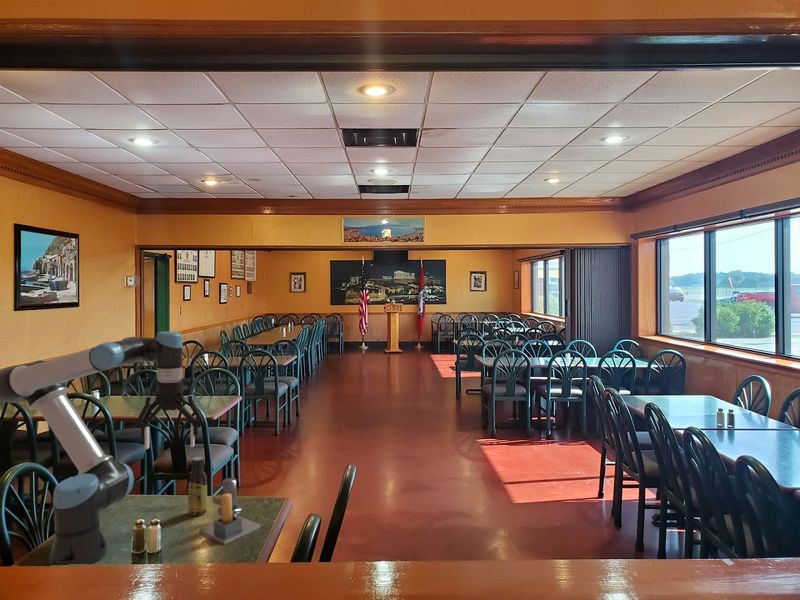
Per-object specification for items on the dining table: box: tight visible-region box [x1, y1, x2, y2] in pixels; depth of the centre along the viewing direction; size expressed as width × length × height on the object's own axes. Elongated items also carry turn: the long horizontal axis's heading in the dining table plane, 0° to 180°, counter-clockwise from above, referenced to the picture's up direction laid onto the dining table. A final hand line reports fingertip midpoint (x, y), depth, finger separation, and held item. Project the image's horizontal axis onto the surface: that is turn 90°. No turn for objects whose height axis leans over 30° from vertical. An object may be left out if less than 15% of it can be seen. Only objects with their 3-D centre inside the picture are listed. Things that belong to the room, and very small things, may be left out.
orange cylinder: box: [220, 493, 233, 524], centre depth 177 cm, size 3×3×12 cm
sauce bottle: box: [187, 456, 208, 517], centre depth 194 cm, size 7×6×20 cm
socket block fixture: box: [198, 477, 262, 545], centre depth 182 cm, size 19×14×15 cm
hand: (170, 447), depth 173 cm, fingers open, 13 cm apart
